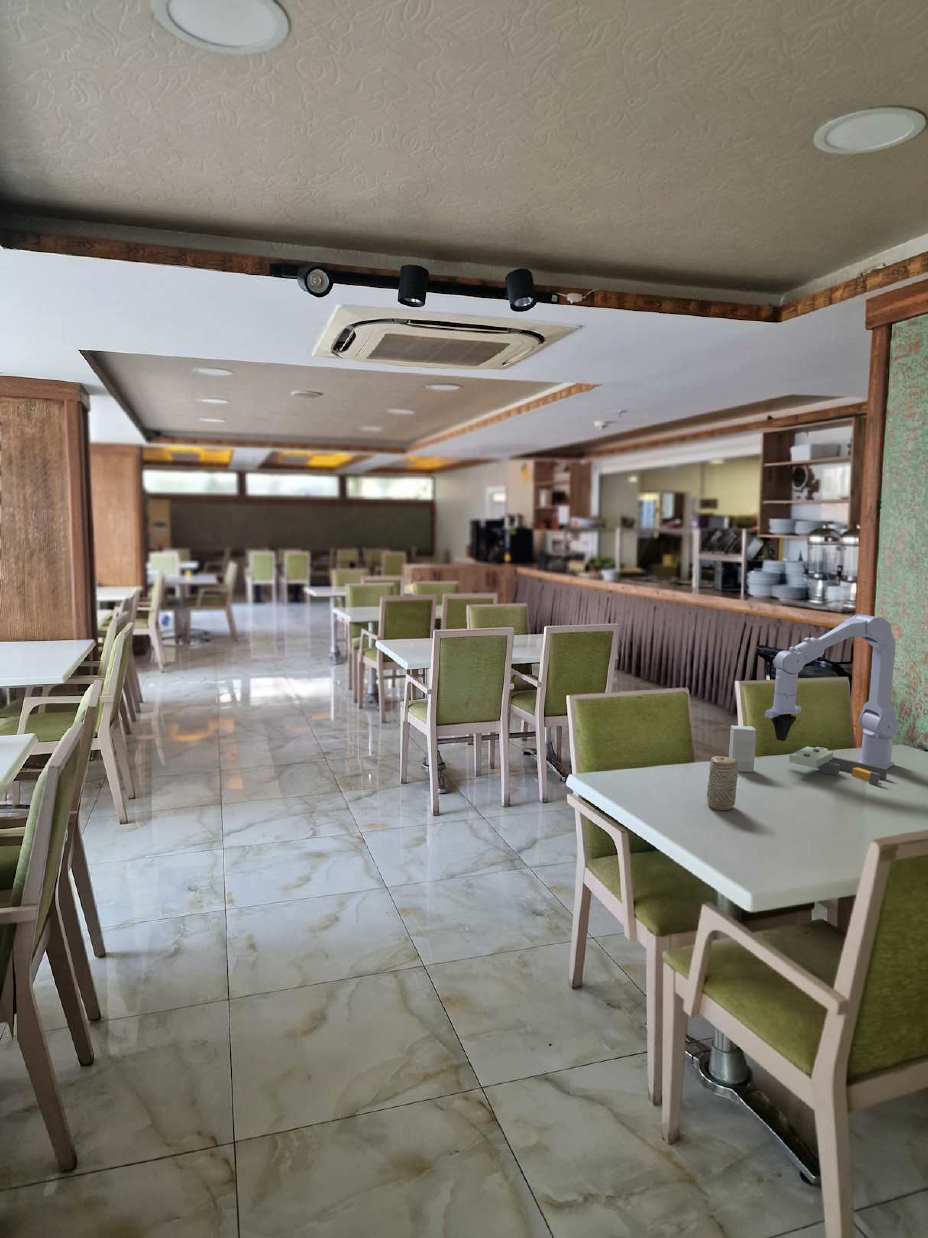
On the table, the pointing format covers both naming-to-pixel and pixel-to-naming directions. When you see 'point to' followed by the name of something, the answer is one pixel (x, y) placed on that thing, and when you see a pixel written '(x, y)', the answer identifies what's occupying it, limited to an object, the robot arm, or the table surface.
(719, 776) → the carving
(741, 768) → the skincare box
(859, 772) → the orange cuboid brick
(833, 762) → the long grey beam
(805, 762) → the cover
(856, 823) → the table surface
